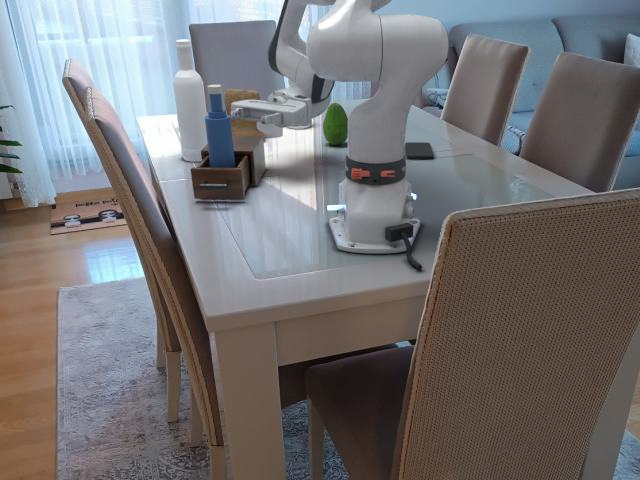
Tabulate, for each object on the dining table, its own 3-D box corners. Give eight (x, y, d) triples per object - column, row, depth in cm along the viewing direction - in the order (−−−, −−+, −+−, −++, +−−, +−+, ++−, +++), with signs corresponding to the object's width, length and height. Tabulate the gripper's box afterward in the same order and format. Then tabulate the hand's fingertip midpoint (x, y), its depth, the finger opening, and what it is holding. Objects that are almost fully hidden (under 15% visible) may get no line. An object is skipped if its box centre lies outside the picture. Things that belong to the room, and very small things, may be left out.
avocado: (320, 147, 188) (319, 104, 182) (327, 141, 195) (326, 99, 189) (346, 149, 187) (346, 105, 180) (352, 142, 193) (352, 100, 187)
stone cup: (265, 135, 202) (261, 84, 194) (265, 144, 192) (261, 91, 184) (216, 136, 201) (211, 85, 193) (214, 145, 190) (208, 92, 183)
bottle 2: (234, 189, 148) (224, 88, 137) (210, 188, 148) (198, 87, 137) (239, 181, 153) (229, 83, 141) (215, 181, 153) (204, 83, 142)
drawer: (240, 205, 141) (237, 174, 138) (189, 204, 142) (185, 174, 138) (254, 180, 157) (252, 152, 153) (208, 180, 157) (205, 152, 154)
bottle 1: (177, 159, 177) (160, 40, 162) (195, 153, 183) (180, 37, 168) (200, 163, 174) (184, 42, 159) (217, 156, 180) (205, 39, 164)
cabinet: (255, 186, 156) (253, 151, 151) (204, 186, 156) (200, 150, 152) (265, 169, 169) (263, 136, 164) (218, 169, 169) (214, 135, 165)
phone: (407, 156, 176) (404, 142, 189) (406, 159, 176) (404, 145, 189) (434, 156, 176) (429, 142, 189) (433, 159, 176) (429, 145, 189)
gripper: (251, 91, 164) (213, 100, 154) (316, 99, 154) (280, 108, 144) (253, 116, 167) (216, 127, 157) (316, 125, 158) (282, 137, 148)
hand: (248, 118), depth 151 cm, fingers open, 8 cm apart
